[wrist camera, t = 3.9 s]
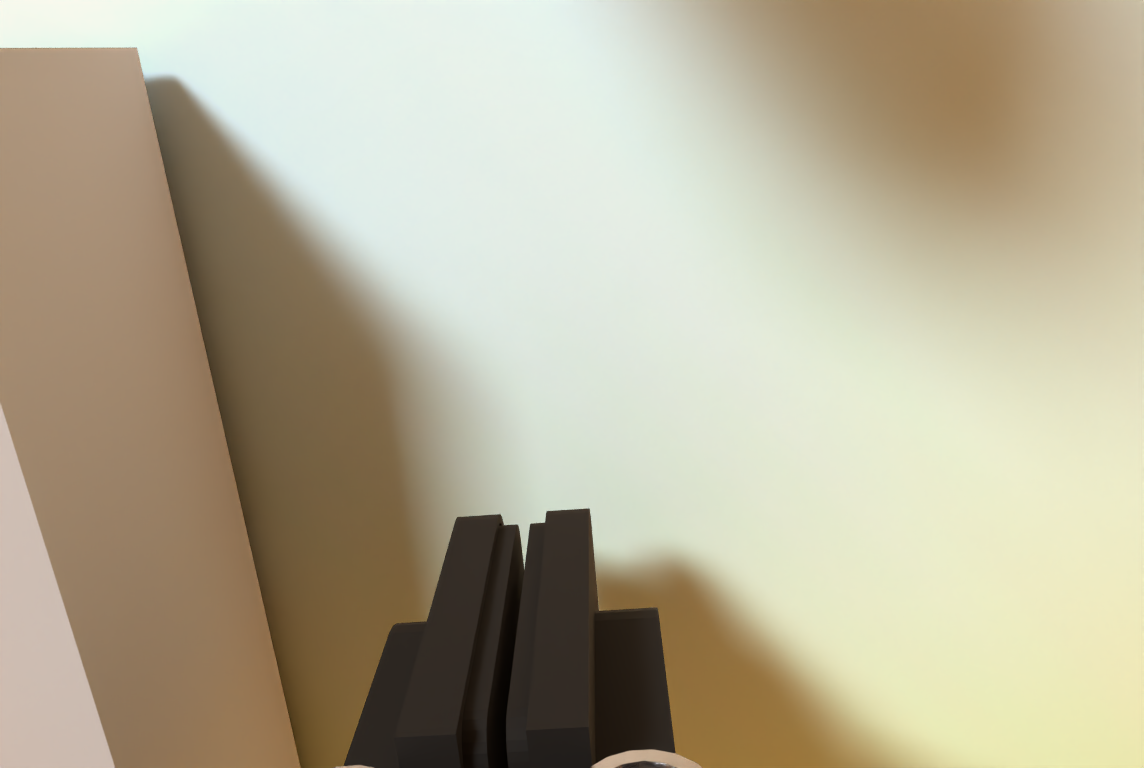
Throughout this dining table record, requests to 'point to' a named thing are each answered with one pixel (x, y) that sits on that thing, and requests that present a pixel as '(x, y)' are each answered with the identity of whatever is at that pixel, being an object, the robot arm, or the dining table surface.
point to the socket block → (114, 452)
